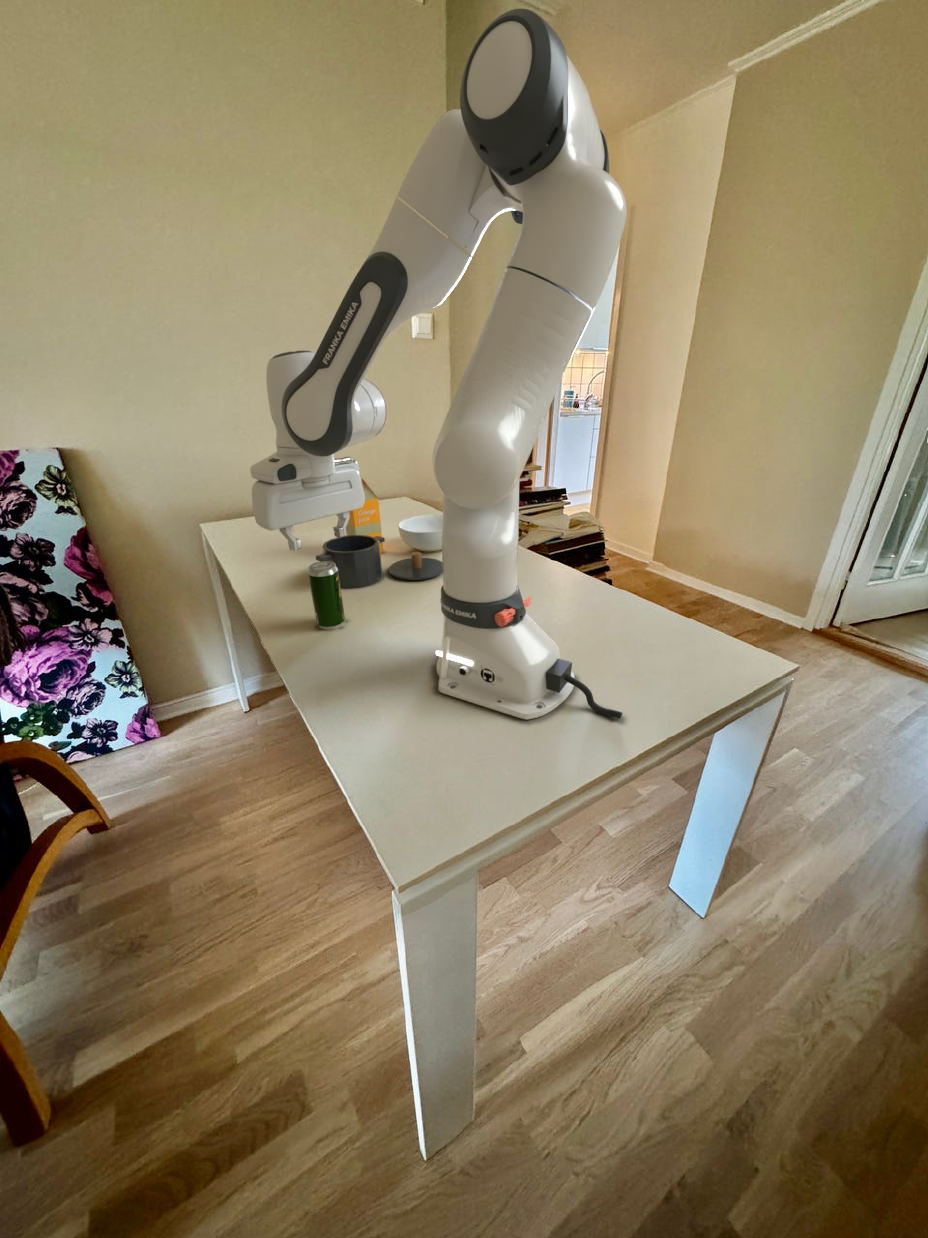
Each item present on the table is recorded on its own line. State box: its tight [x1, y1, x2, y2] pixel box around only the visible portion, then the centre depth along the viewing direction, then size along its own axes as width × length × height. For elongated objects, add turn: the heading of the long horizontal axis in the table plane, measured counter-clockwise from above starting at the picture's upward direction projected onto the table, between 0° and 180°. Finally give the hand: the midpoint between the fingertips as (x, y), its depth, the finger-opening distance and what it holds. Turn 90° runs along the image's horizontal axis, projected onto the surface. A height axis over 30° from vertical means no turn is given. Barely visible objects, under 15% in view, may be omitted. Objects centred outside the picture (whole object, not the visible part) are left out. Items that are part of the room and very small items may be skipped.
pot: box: [315, 535, 386, 589], centre depth 112 cm, size 13×18×8 cm
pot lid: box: [388, 551, 443, 581], centre depth 116 cm, size 14×14×5 cm
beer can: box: [307, 561, 346, 631], centre depth 90 cm, size 5×5×12 cm
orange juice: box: [337, 478, 384, 554], centre depth 126 cm, size 8×9×20 cm
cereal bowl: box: [397, 514, 443, 553], centre depth 131 cm, size 17×17×7 cm
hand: (319, 542), depth 86 cm, fingers open, 8 cm apart
